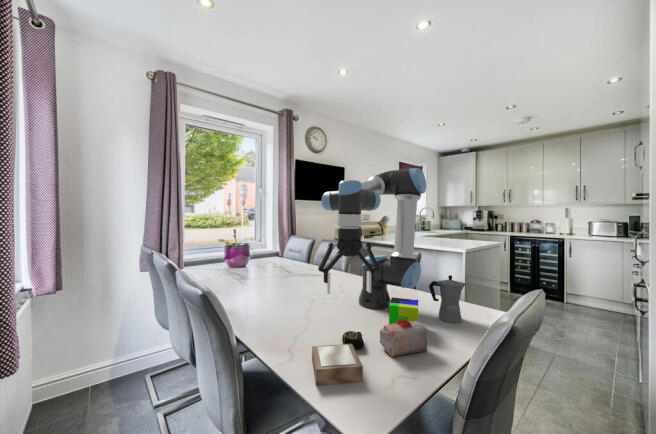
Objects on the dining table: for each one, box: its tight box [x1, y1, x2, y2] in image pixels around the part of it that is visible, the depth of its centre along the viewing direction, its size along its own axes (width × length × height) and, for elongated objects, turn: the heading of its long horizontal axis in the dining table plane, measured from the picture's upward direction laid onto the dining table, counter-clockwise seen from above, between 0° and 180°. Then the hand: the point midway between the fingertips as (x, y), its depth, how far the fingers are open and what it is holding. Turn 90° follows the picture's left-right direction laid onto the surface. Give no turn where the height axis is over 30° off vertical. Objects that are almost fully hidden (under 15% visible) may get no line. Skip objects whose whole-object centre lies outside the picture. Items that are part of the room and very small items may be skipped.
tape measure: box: [341, 330, 365, 349], centre depth 88 cm, size 7×7×4 cm
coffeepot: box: [428, 274, 467, 324], centre depth 111 cm, size 15×9×18 cm, turn 92°
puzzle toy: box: [388, 297, 419, 324], centre depth 101 cm, size 10×10×10 cm
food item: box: [379, 317, 428, 358], centre depth 85 cm, size 14×8×10 cm, turn 108°
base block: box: [311, 343, 364, 386], centre depth 74 cm, size 12×12×4 cm
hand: (348, 292), depth 88 cm, fingers open, 13 cm apart
